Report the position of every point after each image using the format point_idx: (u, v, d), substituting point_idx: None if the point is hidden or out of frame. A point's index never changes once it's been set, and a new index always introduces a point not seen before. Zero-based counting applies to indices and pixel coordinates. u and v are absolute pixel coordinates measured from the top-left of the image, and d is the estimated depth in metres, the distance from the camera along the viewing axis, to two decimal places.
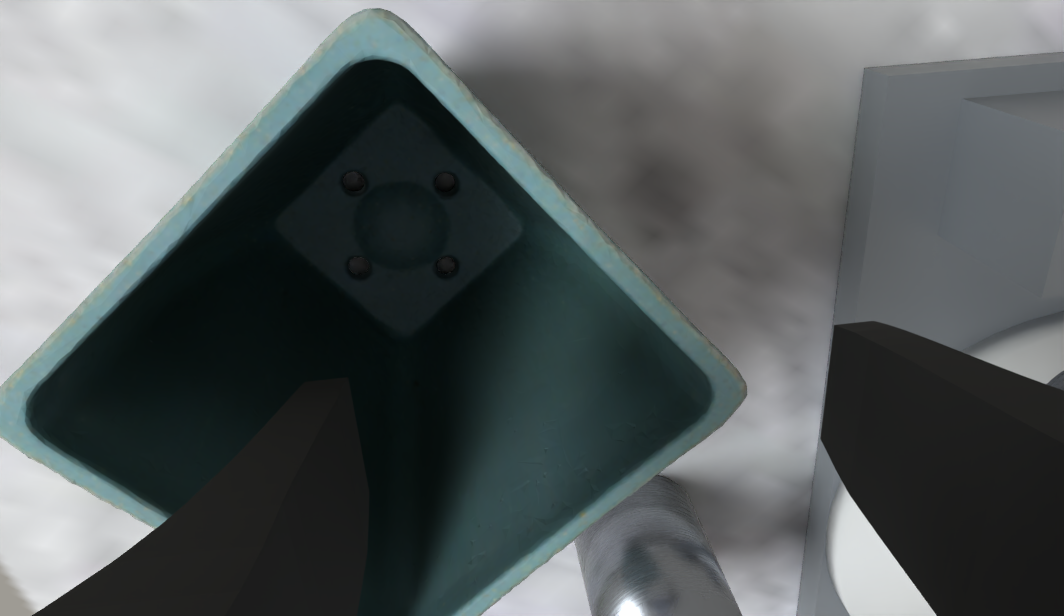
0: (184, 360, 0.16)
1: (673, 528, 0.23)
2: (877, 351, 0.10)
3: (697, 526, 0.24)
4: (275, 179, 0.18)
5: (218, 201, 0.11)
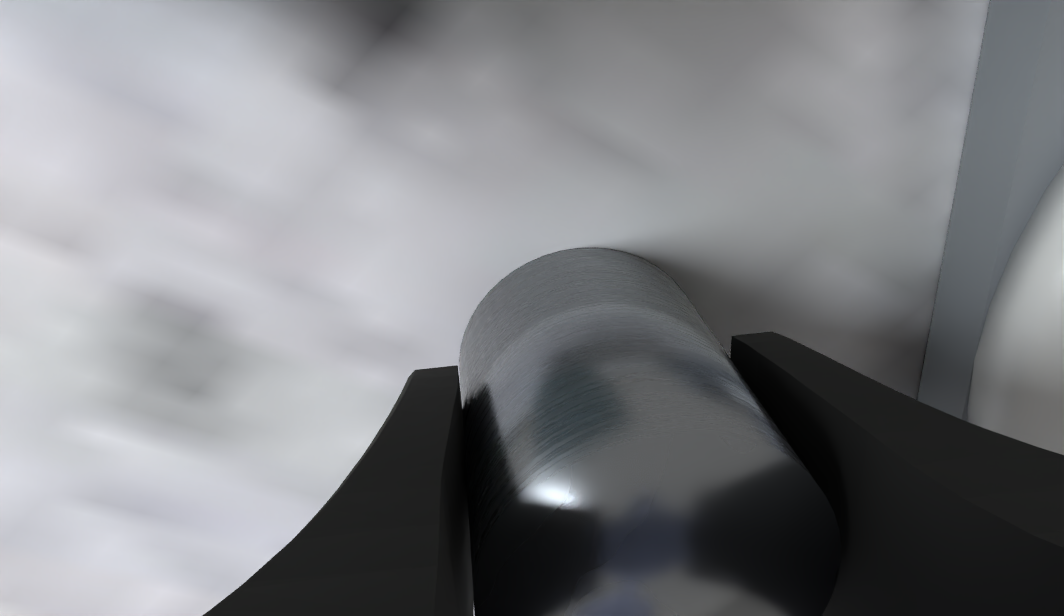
0: None
1: (658, 324, 0.10)
2: (764, 364, 0.10)
3: (712, 336, 0.11)
4: None
5: None
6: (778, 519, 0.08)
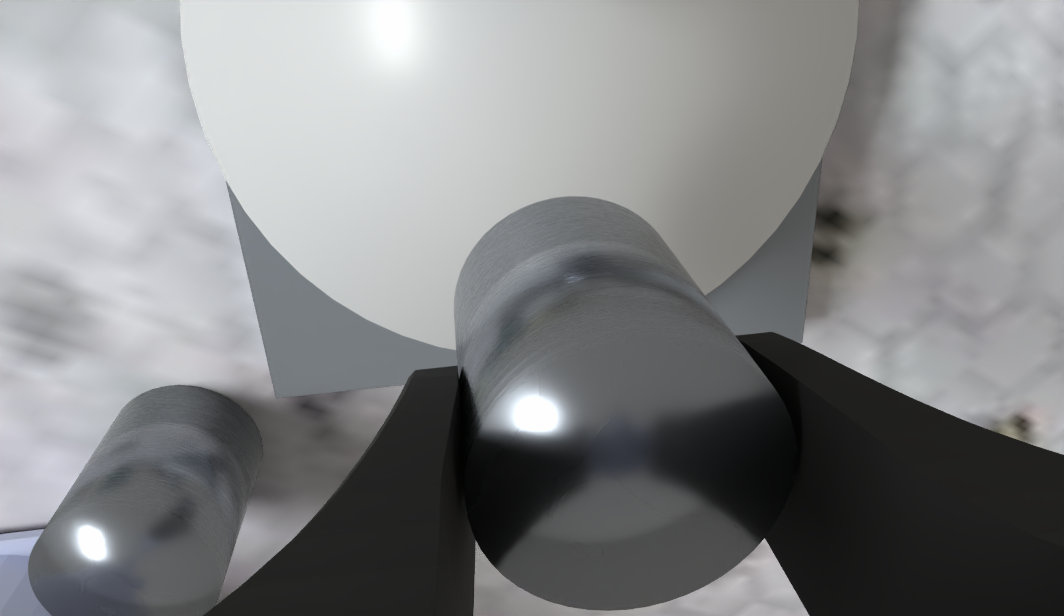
0: None
1: (622, 253, 0.11)
2: (764, 363, 0.10)
3: (678, 265, 0.12)
4: None
5: None
6: (733, 412, 0.09)
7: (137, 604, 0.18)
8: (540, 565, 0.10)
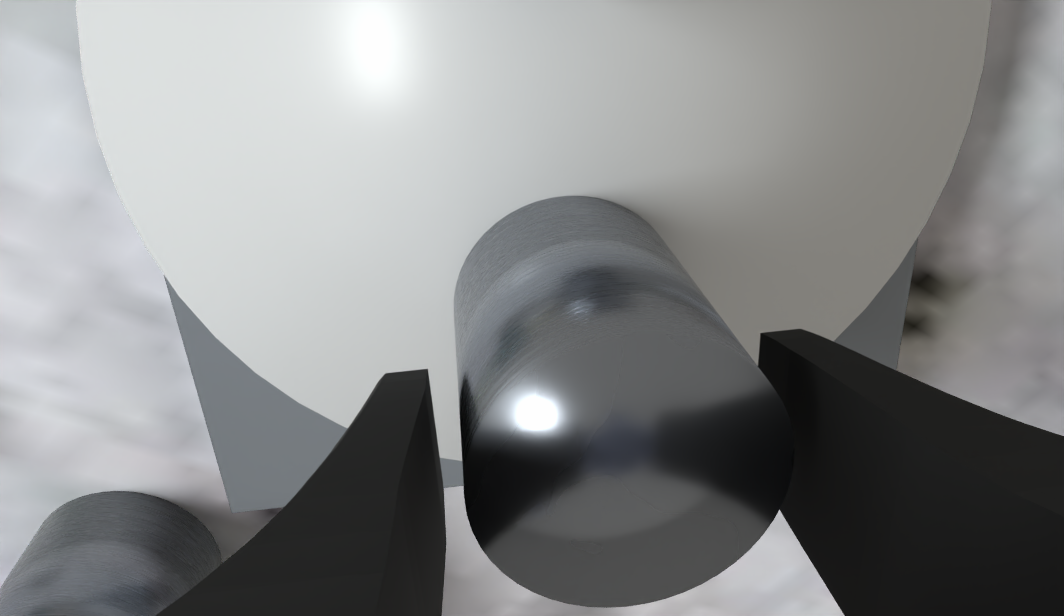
0: None
1: (621, 252, 0.11)
2: (796, 360, 0.10)
3: (677, 264, 0.12)
4: None
5: None
6: (731, 409, 0.09)
7: None
8: (539, 562, 0.10)
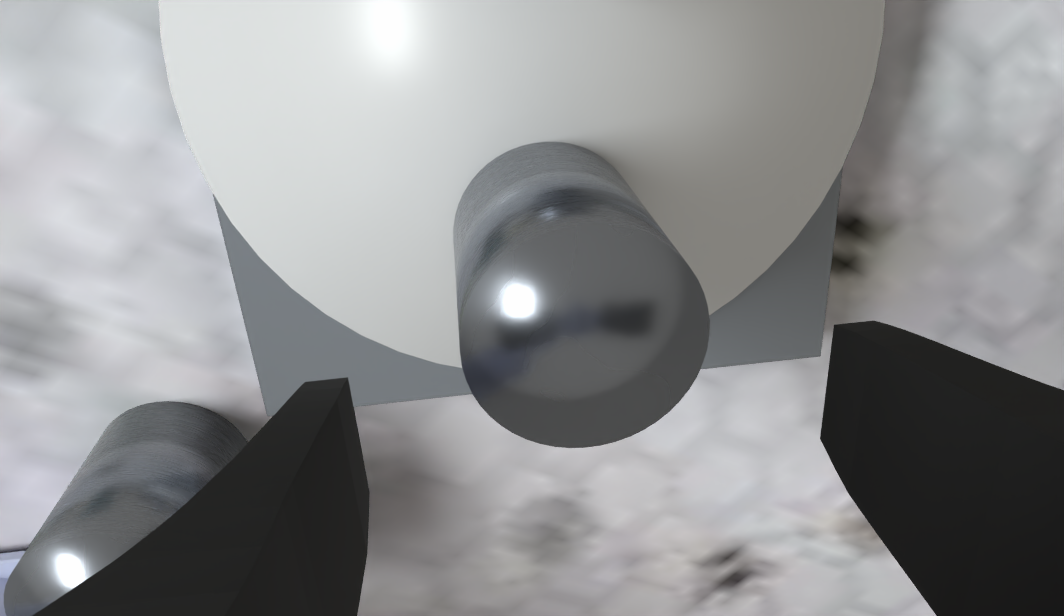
0: None
1: (583, 177, 0.14)
2: (877, 351, 0.10)
3: (630, 191, 0.15)
4: None
5: None
6: (659, 285, 0.12)
7: None
8: (517, 407, 0.13)
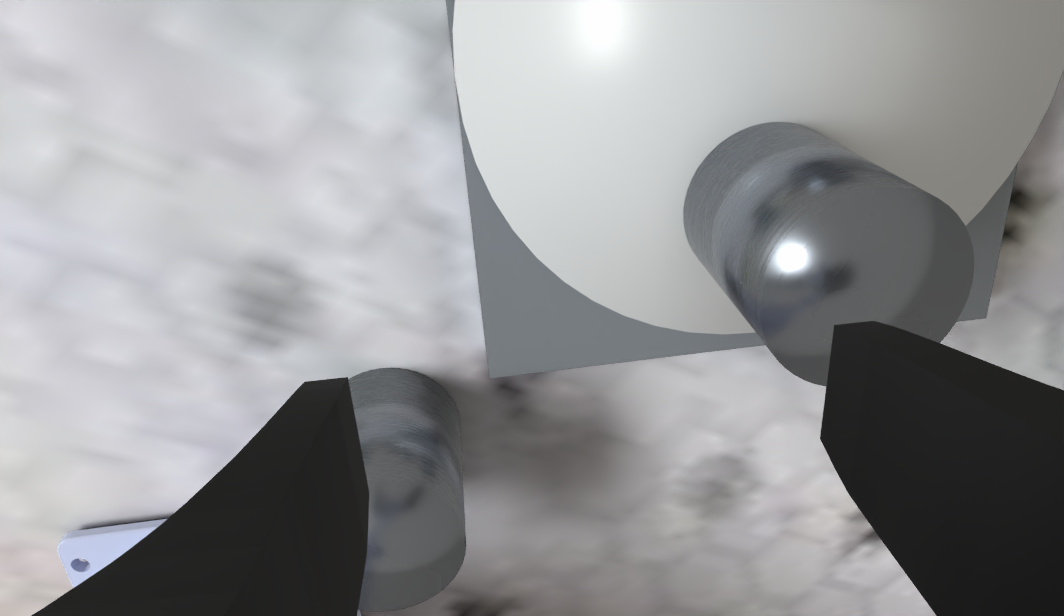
0: None
1: (839, 150, 0.16)
2: (877, 351, 0.10)
3: None
4: None
5: None
6: (936, 241, 0.14)
7: (387, 573, 0.19)
8: (800, 351, 0.15)
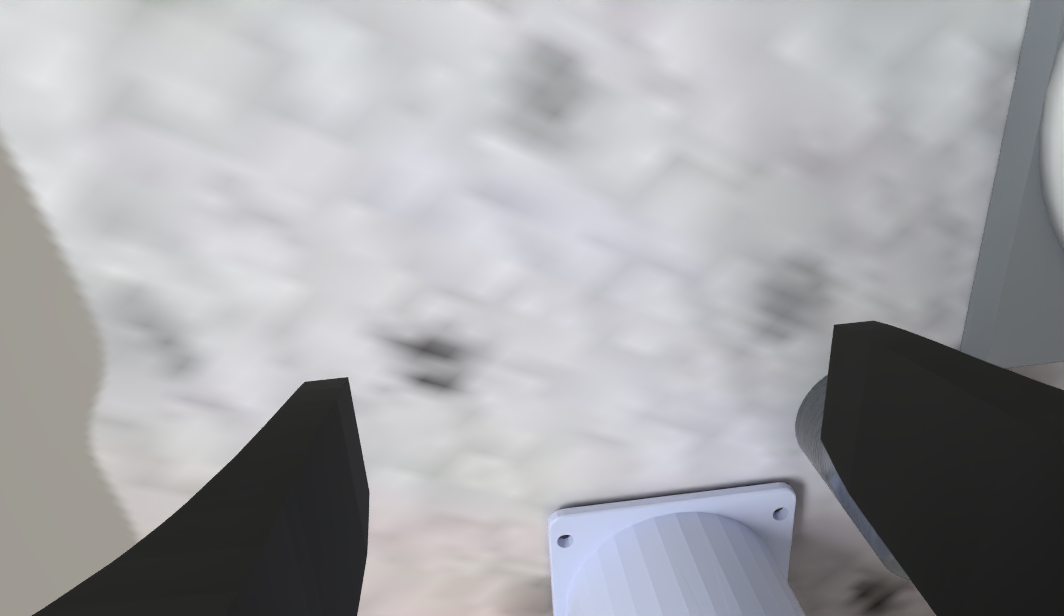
0: None
1: None
2: (877, 351, 0.10)
3: None
4: None
5: None
6: None
7: None
8: None
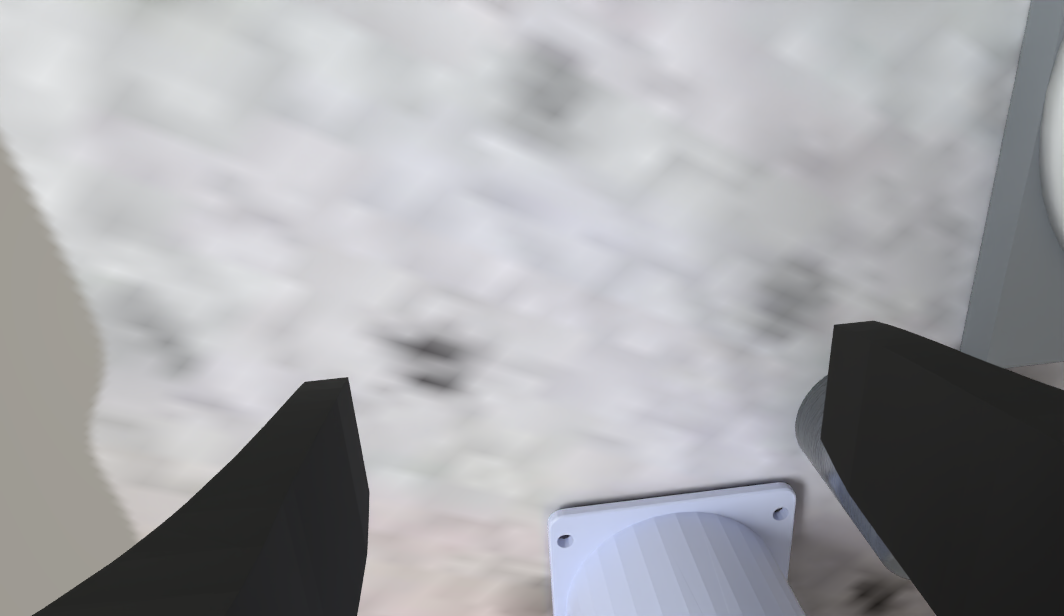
0: None
1: None
2: (877, 351, 0.10)
3: None
4: None
5: None
6: None
7: None
8: None
